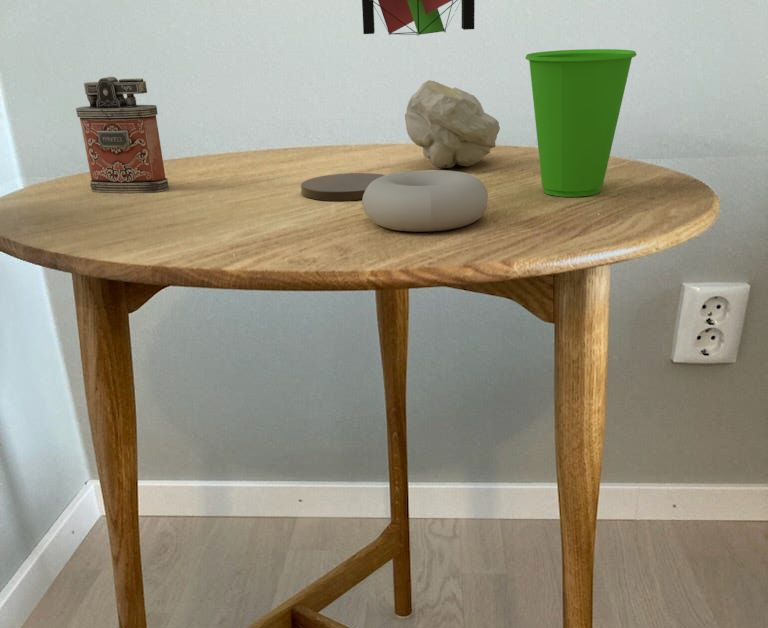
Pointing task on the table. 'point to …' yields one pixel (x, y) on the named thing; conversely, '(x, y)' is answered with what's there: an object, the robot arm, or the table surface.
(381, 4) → the geometric puzzle
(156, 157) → the lighter
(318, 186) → the walnut coaster
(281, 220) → the table surface
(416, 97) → the beige lumpy stone
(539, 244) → the table surface
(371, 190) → the donut
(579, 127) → the cup
